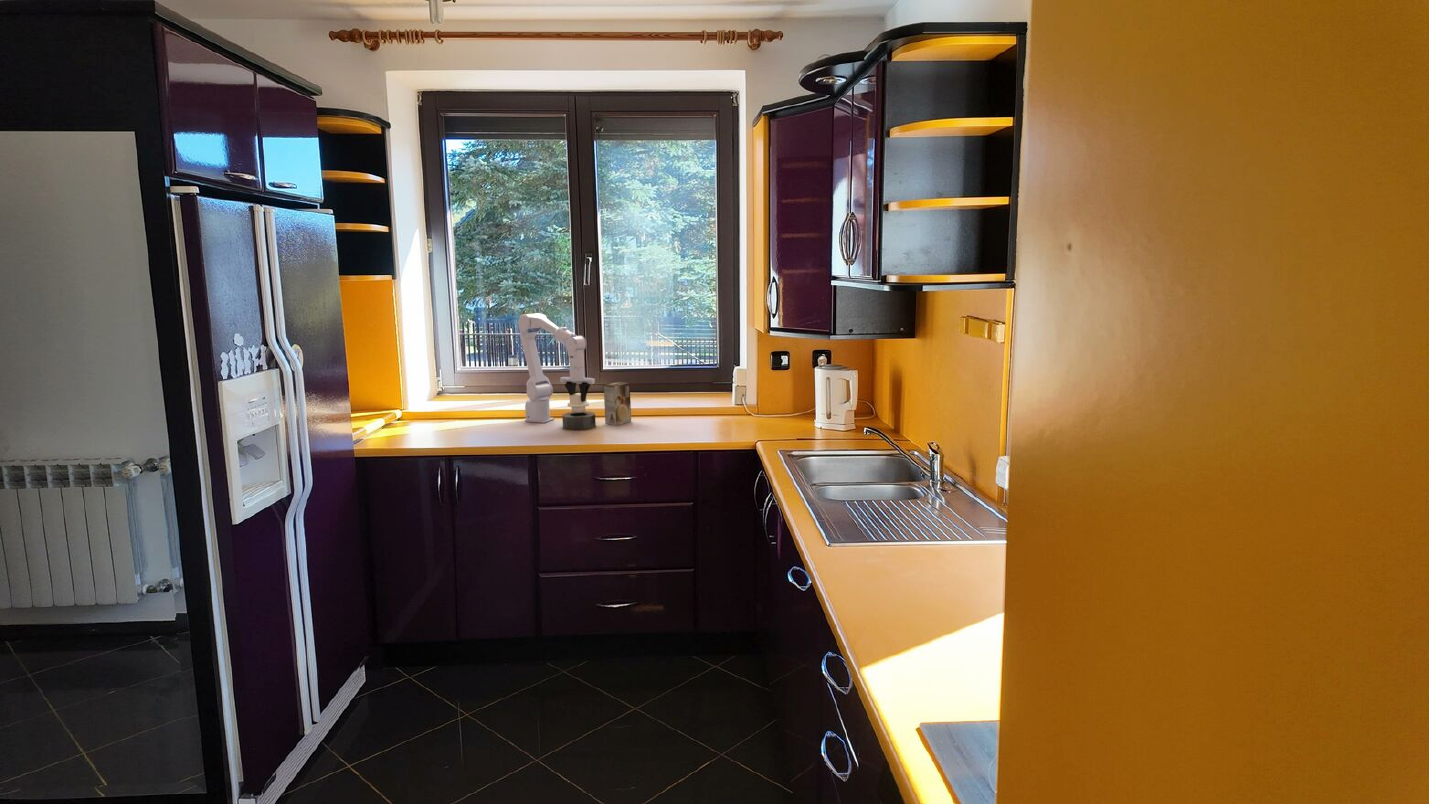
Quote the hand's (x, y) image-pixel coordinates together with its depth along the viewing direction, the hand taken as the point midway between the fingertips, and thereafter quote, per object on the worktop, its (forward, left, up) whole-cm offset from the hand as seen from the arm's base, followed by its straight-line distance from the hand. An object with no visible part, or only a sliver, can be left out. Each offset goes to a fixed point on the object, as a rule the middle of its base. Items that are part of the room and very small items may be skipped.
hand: (578, 401), depth 331 cm
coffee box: (+11, +12, -11) cm, 19 cm away
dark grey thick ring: (0, 0, -10) cm, 10 cm away
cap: (0, 0, -4) cm, 4 cm away
